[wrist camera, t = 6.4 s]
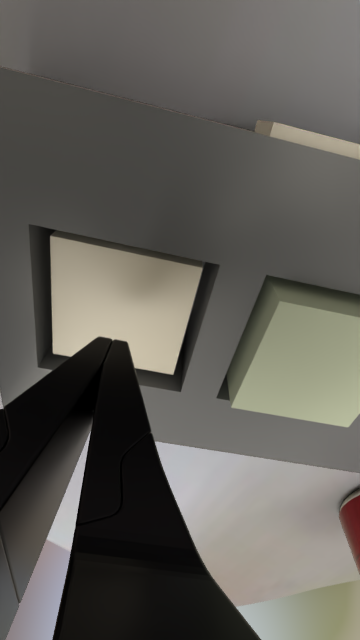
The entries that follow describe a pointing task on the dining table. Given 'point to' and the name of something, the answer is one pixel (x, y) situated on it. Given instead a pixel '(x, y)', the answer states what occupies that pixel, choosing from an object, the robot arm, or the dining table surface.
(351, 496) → the soda can
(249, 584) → the dining table surface
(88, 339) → the cream key
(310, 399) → the sage key
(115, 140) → the keypad
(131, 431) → the robot arm
